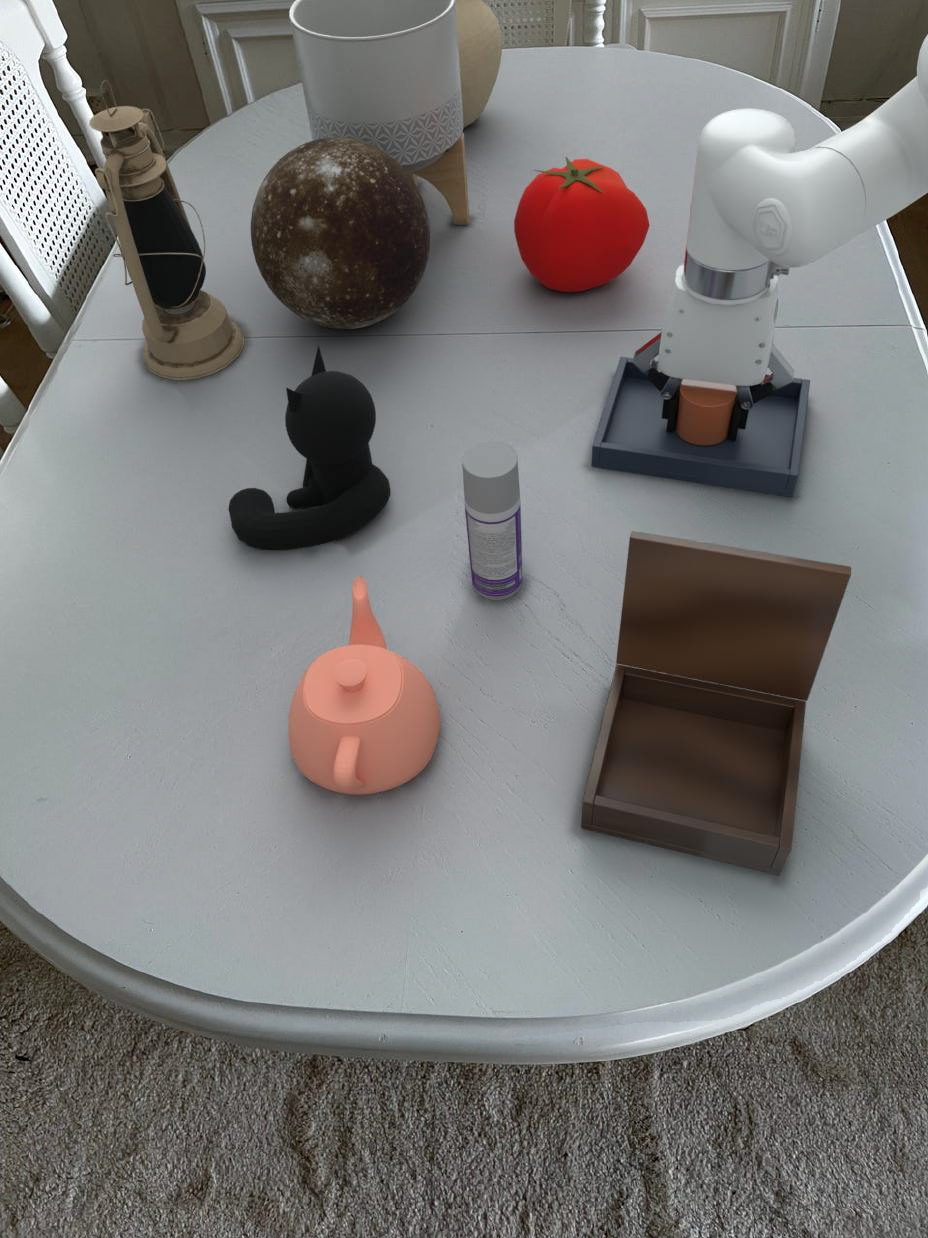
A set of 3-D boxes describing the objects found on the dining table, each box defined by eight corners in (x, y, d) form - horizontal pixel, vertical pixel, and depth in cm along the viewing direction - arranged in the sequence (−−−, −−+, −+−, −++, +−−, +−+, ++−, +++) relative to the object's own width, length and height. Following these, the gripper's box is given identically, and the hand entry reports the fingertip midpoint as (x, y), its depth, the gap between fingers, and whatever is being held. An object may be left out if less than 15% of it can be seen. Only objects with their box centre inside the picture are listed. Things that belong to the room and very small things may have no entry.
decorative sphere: (348, 387, 108) (315, 218, 93) (239, 321, 118) (192, 157, 102) (472, 304, 116) (460, 136, 101) (360, 249, 126) (334, 87, 110)
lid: (851, 574, 63) (851, 566, 64) (629, 537, 67) (631, 530, 67) (807, 701, 73) (808, 693, 74) (615, 664, 77) (617, 656, 77)
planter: (457, 261, 122) (439, 37, 102) (313, 257, 125) (268, 38, 105) (479, 185, 134) (467, -30, 114) (347, 183, 137) (312, -28, 116)
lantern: (168, 309, 120) (76, 48, 97) (259, 313, 118) (188, 47, 95) (124, 384, 111) (11, 116, 88) (222, 389, 110) (134, 117, 86)
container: (488, 555, 91) (479, 432, 79) (531, 572, 89) (529, 449, 78) (462, 588, 89) (449, 467, 77) (507, 607, 87) (500, 486, 75)
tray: (804, 401, 102) (810, 379, 99) (792, 497, 93) (798, 475, 91) (619, 377, 106) (620, 356, 104) (591, 467, 98) (592, 445, 95)
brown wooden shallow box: (779, 875, 70) (791, 850, 67) (580, 828, 73) (582, 801, 70) (795, 730, 77) (806, 701, 74) (613, 693, 81) (616, 663, 77)
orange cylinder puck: (734, 413, 100) (741, 373, 96) (727, 449, 96) (734, 409, 93) (679, 406, 101) (684, 366, 97) (670, 441, 98) (675, 402, 94)
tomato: (502, 300, 116) (497, 190, 106) (534, 239, 124) (533, 131, 114) (630, 318, 113) (639, 205, 102) (655, 254, 120) (666, 143, 110)
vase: (457, 86, 154) (440, -148, 130) (527, 119, 145) (523, -126, 122) (372, 123, 148) (339, -116, 124) (440, 160, 139) (419, -90, 116)
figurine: (304, 441, 103) (272, 320, 91) (417, 477, 98) (399, 354, 87) (214, 542, 95) (166, 422, 83) (333, 587, 90) (301, 467, 78)
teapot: (282, 830, 75) (252, 768, 67) (309, 643, 86) (287, 573, 79) (438, 828, 74) (426, 766, 67) (445, 640, 85) (436, 569, 78)
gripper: (833, 252, 85) (793, 415, 99) (637, 234, 89) (625, 393, 103) (827, 301, 80) (786, 464, 95) (621, 280, 84) (611, 439, 99)
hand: (702, 425), depth 99 cm, fingers closed on orange cylinder puck, 5 cm apart
